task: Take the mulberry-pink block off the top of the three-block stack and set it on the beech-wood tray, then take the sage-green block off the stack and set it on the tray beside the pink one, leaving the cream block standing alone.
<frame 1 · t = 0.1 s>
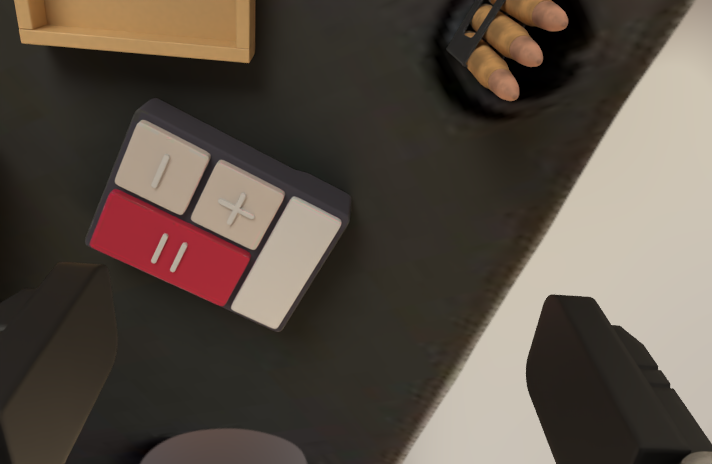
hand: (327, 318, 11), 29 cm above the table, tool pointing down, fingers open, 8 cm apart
calculator: (225, 208, 43), on the table
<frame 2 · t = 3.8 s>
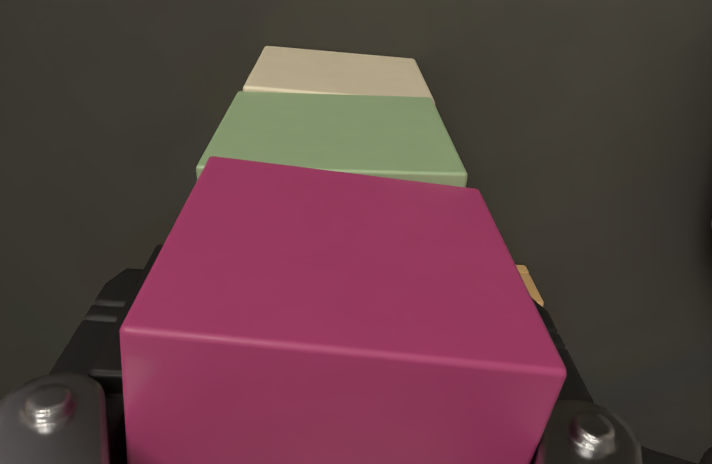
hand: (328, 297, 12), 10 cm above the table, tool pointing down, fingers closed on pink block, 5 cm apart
tray: (344, 422, 28), on the table
pink block: (330, 283, 12), point 10 cm above the table, touching green block, gripper
green block: (333, 182, 16), point 5 cm above the table, touching cream block, pink block
cream block: (335, 124, 21), on the table, touching green block
when the fingers open (1 cm above the table, at t = 11.5 s): pink block stays where it is, resting on tray.
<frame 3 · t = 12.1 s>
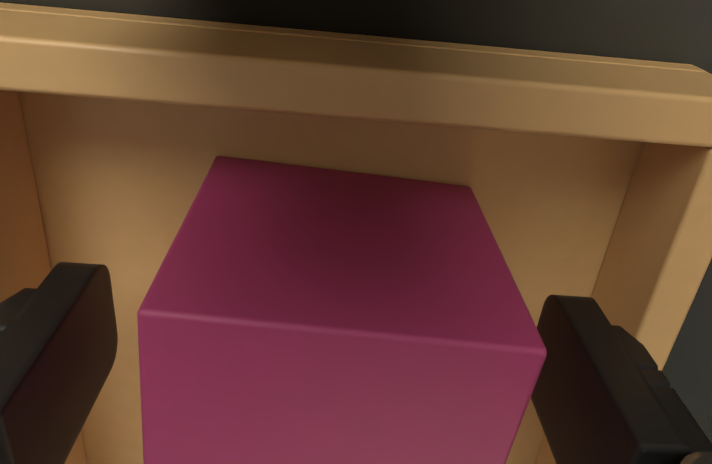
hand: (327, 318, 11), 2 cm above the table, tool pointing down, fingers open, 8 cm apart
tray: (317, 407, 15), on the table
pink block: (330, 277, 13), point 1 cm above the table, touching tray
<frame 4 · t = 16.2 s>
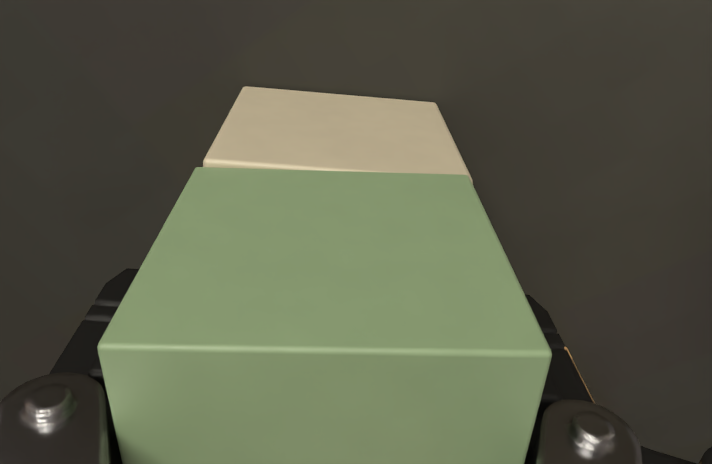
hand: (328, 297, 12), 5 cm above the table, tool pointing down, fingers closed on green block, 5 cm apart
green block: (330, 283, 12), point 5 cm above the table, touching cream block, gripper
cream block: (333, 182, 16), on the table, touching green block
when the fingers open (1 cm above the table, at t = 23.4 s): green block stays where it is, resting on tray.
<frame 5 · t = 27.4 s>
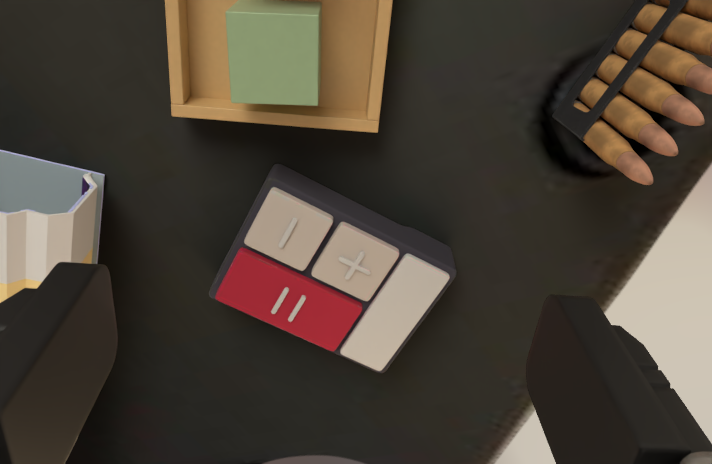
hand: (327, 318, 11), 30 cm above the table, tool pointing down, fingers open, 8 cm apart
ammunition clip: (612, 52, 39), on the table
diorama: (29, 297, 47), on the table
calculator: (332, 259, 46), on the table
green block: (281, 42, 37), point 1 cm above the table, touching tray
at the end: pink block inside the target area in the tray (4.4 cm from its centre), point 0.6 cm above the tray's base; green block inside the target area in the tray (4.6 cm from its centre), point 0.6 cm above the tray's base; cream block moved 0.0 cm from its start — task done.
